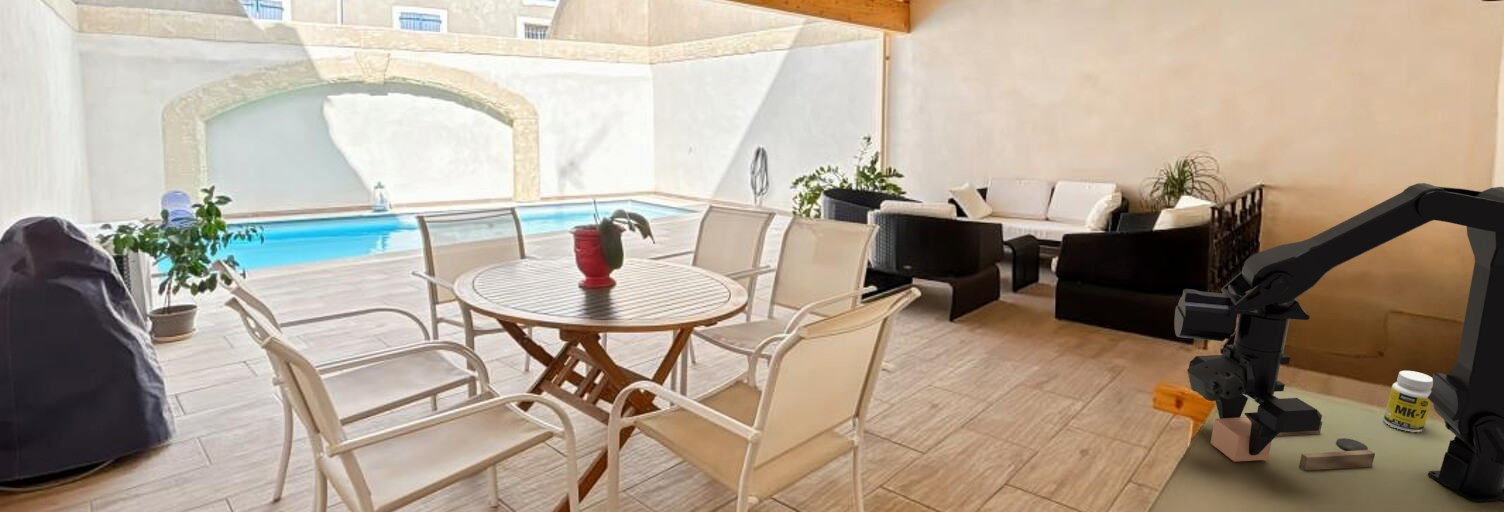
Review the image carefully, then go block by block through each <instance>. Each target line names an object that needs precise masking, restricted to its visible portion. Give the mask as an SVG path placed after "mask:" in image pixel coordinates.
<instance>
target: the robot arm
mask: <svg viewBox="0 0 1504 512" xmlns="http://www.w3.org/2000/svg"><path fill="white" fill-rule="evenodd" d="M1432 221H1439V222H1444V223H1450V224H1453V225H1459V226H1463V227H1466V236H1467V238H1468V242H1469V244H1470V245H1469V246H1470V248H1471V251H1472V253H1473V256H1474V264H1473V271H1472V276H1471V280H1470V281H1471V283H1470V288H1469V293H1468V299H1467V305H1466V309H1465V315H1464V321H1463V326H1462V333H1461V338H1460V343H1459V350H1458V355H1457V360H1456V363H1455V365H1454V366H1453V367H1452V368H1451V369H1450V370H1449V371H1448V372H1447V373H1441V372H1433V374H1432V378H1433V387H1432V389H1431V393H1430V395H1429V396H1428V399H1429V400H1430V401H1431V404H1433V410H1434V411H1435V412H1436V413H1437V415H1438V416H1440V417H1441V419H1442V420H1443V421H1444V424H1445V428H1446V430H1448V431H1450V432H1451V433H1453V434H1454V435H1455V436H1454V439H1452V440H1451V439H1450V440H1449V444H1448V446H1447V447H1448V448H1447V451H1446V452H1445V453H1444V455H1443V459H1442V463H1441V467H1440V470H1429V471H1428V473H1427V475H1428V476H1429V477H1430V478H1432V479H1434V480H1435V481H1437V482H1439V483H1441V484H1442V485H1444V486H1446V487H1447V488H1449V489H1451V490H1452V491H1454V492H1456V493H1458V494H1459V495H1461V496H1463V497H1464V498H1466V499H1468V500H1469V501H1471V502H1474V503H1482V502H1496V501H1500V502H1501V501H1504V186H1495V187H1490V188H1488V189H1485V190H1482V191H1481V190H1472V189H1468V188H1467V189H1466V188H1460V187H1446V186H1436V185H1433V184H1430V183H1426V182H1421V183H1415V184H1413V185H1410V186H1409V185H1408V187H1406V188H1405V189H1403V191H1402V192H1401V193H1397V194H1395V195H1394V196H1392V197H1390V198H1388V199H1386V200H1384V201H1382V202H1380V203H1378V204H1376V205H1374V206H1372V207H1370V208H1368V209H1366V210H1363V211H1362V212H1360V213H1357V214H1356V215H1354V216H1352V217H1350V218H1348V219H1346V220H1344V221H1341V222H1340V223H1338V224H1336V225H1335V226H1332V227H1330V228H1328V229H1326V230H1324V231H1322V232H1320V233H1318V234H1316V235H1314V236H1312V237H1310V238H1307V239H1304V240H1301V241H1296V242H1291V243H1284V244H1281V245H1280V244H1279V245H1278V246H1273V247H1271V248H1268V249H1266V250H1262V251H1259V252H1256V253H1253V254H1252V255H1251V256H1250V257H1248V258H1247V259H1246V260H1245V261H1244V263H1243V266H1242V270H1241V271H1240V272H1239V273H1238V274H1237V275H1235V276H1234V277H1233V278H1232V279H1231V280H1230V281H1229V282H1227V283H1226V284H1225V285H1224V286H1223V287H1222V288H1220V291H1221V292H1222V293H1221V292H1209V291H1200V290H1197V289H1190V288H1185V289H1183V290H1182V296H1181V297H1180V298H1179V300H1178V304H1177V305H1176V306H1175V310H1174V318H1173V319H1174V322H1173V324H1174V333H1175V336H1176V337H1178V338H1186V339H1187V338H1188V339H1195V340H1197V339H1198V340H1207V341H1214V342H1215V341H1217V342H1224V341H1225V340H1227V339H1228V340H1230V339H1231V336H1233V335H1234V334H1235V336H1234V341H1233V344H1226V345H1225V347H1224V348H1223V350H1222V354H1212V355H1209V354H1208V355H1196V356H1195V357H1193V359H1191V360H1190V361H1189V364H1188V365H1189V366H1188V368H1187V374H1188V379H1189V383H1190V384H1189V385H1190V388H1191V390H1192V391H1193V392H1196V394H1199V395H1200V396H1202V397H1203V398H1204V399H1205V400H1206V401H1209V402H1215V404H1216V408H1217V412H1218V419H1220V418H1239V417H1241V415H1242V414H1243V411H1244V409H1245V407H1246V404H1247V402H1248V400H1251V401H1253V402H1255V403H1257V404H1258V406H1257V411H1255V412H1244V416H1245V417H1247V418H1248V419H1249V420H1250V421H1251V432H1250V440H1249V454H1250V455H1258V454H1259V453H1260V452H1261V451H1262V450H1263V449H1264V448H1265V447H1266V446H1267V445H1268V444H1269V443H1270V442H1271V443H1272V441H1273V440H1274V439H1275V438H1276V437H1278V436H1277V435H1278V434H1279V433H1280V432H1282V433H1284V432H1301V431H1319V428H1320V423H1321V421H1322V417H1323V414H1322V413H1321V412H1319V410H1318V409H1317V408H1315V407H1313V406H1311V405H1310V404H1308V403H1306V402H1304V401H1303V400H1302V399H1300V398H1298V397H1289V398H1287V397H1285V398H1284V397H1283V398H1278V397H1277V396H1276V395H1274V394H1275V393H1276V392H1284V390H1285V383H1282V381H1280V380H1279V375H1280V369H1281V366H1282V365H1289V364H1290V361H1291V356H1290V355H1288V354H1287V353H1286V354H1285V353H1284V350H1285V345H1286V340H1287V337H1288V336H1287V334H1288V330H1289V324H1290V320H1299V321H1309V320H1310V319H1311V317H1310V315H1309V314H1308V313H1307V312H1306V311H1305V310H1304V309H1303V308H1302V306H1301V304H1300V302H1299V301H1298V300H1297V299H1296V298H1298V297H1300V296H1302V295H1303V294H1305V292H1308V291H1309V290H1311V288H1314V286H1316V285H1317V284H1318V283H1319V281H1321V279H1322V278H1324V277H1325V275H1326V274H1327V273H1329V272H1330V271H1331V270H1333V269H1334V268H1336V267H1338V266H1340V265H1343V264H1345V263H1346V262H1348V261H1350V260H1352V259H1355V258H1357V257H1358V256H1361V255H1364V254H1365V253H1367V252H1369V251H1371V250H1373V249H1376V248H1377V247H1379V246H1382V245H1384V244H1386V243H1388V242H1390V241H1393V240H1394V239H1396V238H1399V237H1400V236H1403V235H1404V234H1407V233H1409V232H1411V231H1413V230H1415V229H1417V228H1419V227H1421V226H1423V225H1426V224H1427V223H1430V222H1432Z"/></svg>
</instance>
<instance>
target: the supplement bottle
mask: <svg viewBox="0 0 1504 512" xmlns="http://www.w3.org/2000/svg"><path fill="white" fill-rule="evenodd" d="M1390 388H1391V389H1390V393H1389V396H1388V400H1387V404H1386V408H1385V410H1384V411H1385V412H1384V415H1383V422H1384V423H1385V424H1386V425H1387V424H1388V425H1387V426H1389V425H1390V426H1389V427H1391V428H1393V427H1394V428H1393V429H1395V428H1397V429H1396V430H1398V429H1402V430H1406V431H1408V430H1409V431H1417V430H1422V429H1423V428H1424V429H1425V425H1426V421H1427V419H1428V415H1429V413H1430V408H1431V405H1432V402H1431V401H1430V400H1429V399H1428V396H1429V395H1430V393H1431V391H1432V389H1433V376H1430V375H1428V374H1426V373H1422V372H1420V371H1419V372H1418V371H1413V370H1400V371H1399V372H1398V375H1397V380H1396V381H1395V382H1394V383H1392V385H1391V387H1390ZM1424 429H1423V430H1424ZM1406 431H1405V432H1406Z"/></svg>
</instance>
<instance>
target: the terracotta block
mask: <svg viewBox="0 0 1504 512" xmlns="http://www.w3.org/2000/svg"><path fill="white" fill-rule="evenodd" d="M1250 432H1251V421H1250V420H1249V419H1248V418H1247V417H1246V416H1245V417H1244V416H1243V417H1241V416H1240V417H1239V418H1214V421H1213V427H1212V433H1211V437H1210V438H1211V439H1210V444H1211V445H1212V446H1213V447H1215V448H1216V449H1217V450H1218V451H1220V452H1221V453H1223V454H1224V455H1225V456H1226V457H1227V458H1229V459H1230V460H1232V462H1233V463H1234V462H1248V461H1249V462H1250V461H1266V460H1268V459H1269V455H1270V450H1271V447H1272V446H1271V445H1272V441H1271V442H1270V443H1269V444H1268V445H1267V446H1266V447H1265V448H1264V449H1263V450H1262V451H1261V452H1260V453H1259V454H1258V455H1250V454H1249V440H1250Z"/></svg>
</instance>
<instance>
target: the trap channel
mask: <svg viewBox="0 0 1504 512" xmlns="http://www.w3.org/2000/svg"><path fill="white" fill-rule="evenodd" d="M1322 425H1323V421H1322V420H1321V423H1320V428H1319V431H1301V432H1284V433H1282V432H1280V433H1279V434H1278V435H1277V436H1276V437H1284V436H1285V437H1286V436H1305V435H1306V436H1307V435H1319V434H1321V431H1322ZM1335 444H1336V445H1337V447H1339V448H1340V449H1341V450H1342V451H1328V452H1327V451H1326V452H1323V451H1322V452H1312V453H1309V452H1308V453H1306V452H1305V453H1301V456H1300V460H1299V465H1298V467H1299V468H1300V469H1302V470H1303V471H1315V470H1331V469H1332V470H1333V469H1335V470H1336V469H1347V468H1349V469H1350V468H1353V469H1354V468H1366V467H1373V463H1374V459H1375V457H1376V453H1375V452H1374V451H1371V450H1370V449H1369V448H1368V446H1367V445H1366V444H1364V443H1363V442H1361V441H1358V440H1354V439H1353V438H1346V437H1345V438H1343V437H1341V438H1337V440H1336V443H1335Z"/></svg>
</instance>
